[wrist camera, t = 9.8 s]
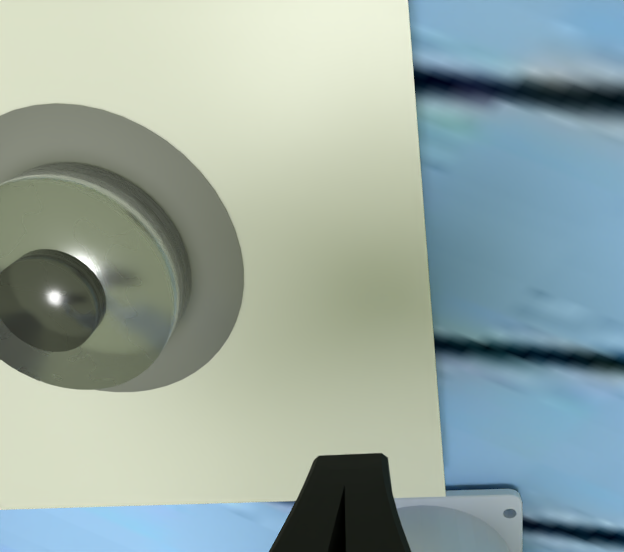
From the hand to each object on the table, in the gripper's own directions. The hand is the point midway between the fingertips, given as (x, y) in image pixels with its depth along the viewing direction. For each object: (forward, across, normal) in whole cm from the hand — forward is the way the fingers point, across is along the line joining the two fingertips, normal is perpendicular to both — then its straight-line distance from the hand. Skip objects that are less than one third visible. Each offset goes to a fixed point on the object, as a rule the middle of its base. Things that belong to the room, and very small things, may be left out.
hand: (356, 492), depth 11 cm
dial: (+8, +12, -2) cm, 15 cm away
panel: (+10, +9, -2) cm, 14 cm away
